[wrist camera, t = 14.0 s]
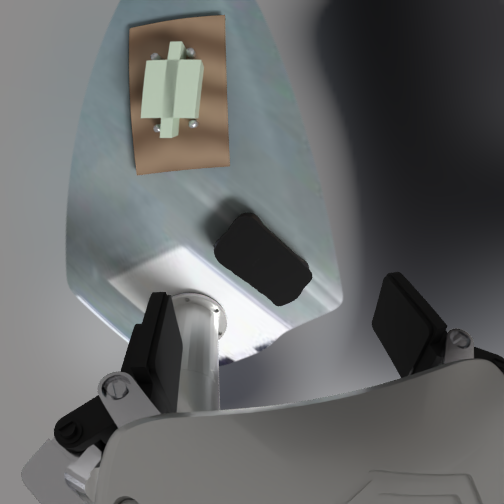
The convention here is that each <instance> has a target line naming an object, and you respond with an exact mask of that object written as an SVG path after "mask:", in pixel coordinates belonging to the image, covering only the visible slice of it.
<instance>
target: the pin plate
mask: <svg viewBox="0 0 504 504" xmlns="http://www.w3.org/2000/svg"><path fill="white" fill-rule="evenodd" d="M177 41H182V42H183V44H184V46H185V48H186V49H187V50H186V54H187V56H186V60H201V61H202V63H203V66H204V72H203V80H202V89H201V98H200V107H199V118H180V119H179V132H178V136H175V137H173V138H160V127H161V118H141V107H142V96H143V86H144V77H145V69H146V61H149V60H167V59H168V52H169V45H170V42H177ZM129 85H130V107H131V122H132V134H133V145H134V155H135V164H136V172H137V175H143V174H151V173H159V172H168V171H178V170H188V169H199V168H212V167H227V166H230V159H229V136H228V110H227V81H226V43H225V15H217V16H203V17H193V18H184V19H177V20H170V21H164V22H158V23H153V24H147V25H143V26H138V27H134V28H130V33H129Z"/></svg>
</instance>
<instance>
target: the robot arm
mask: <svg viewBox="0 0 504 504" xmlns="http://www.w3.org/2000/svg"><path fill="white" fill-rule="evenodd" d="M226 327H227V319H226V314H225V312H224V310H223V308H222V307H221V306H220V305H219V304H218V303H217V302H216V301H214V300H213V299H211V298H209V297H207V296H205V295H201V294H197V293H182V294H178V295H175V296H172V297H171V295H167V294H166V292H153V293H152V294H151V297H150V300H149V303H148V306H147V309H146V312H145V315H144V319H143V322H142V324H136V325H135V327H134V329H133V332H132V335H131V339H130V342H129V345H128V348H127V351H126V355H125V358H124V362H123V365H122V368H121V372H113V373H110V374H108V375H106V376H105V377H103V379H102V380H101V381H100V383H99V385H98V394H99V395H98V396H96V397H95V398H93V399H92V400H90V401H88V402H87V403H85V404H84V405H82V406H80V407H79V408H77V409H76V410H74V411H72V412H70V413H69V414H67V415H66V416H64V417H62V418H61V419H60V420H59V421H58V422H57V423H56V425H55V429H54V436H55V437H54V438H53V439H52V440H50V439H48V440H47V441H46V442H45V443H44V444H43V445H42V447H41V448H40V449H39V450H38V451H37V452H36V453H35V454H34V456H33V457H32V458H31V459H30V460H29V461H28V462H27V463H26V464H25V466H24V467H23V469H22V473H21V476H22V481H23V483H24V484H25V486H26V487H27V488H28V489H29V490H30V492H31V493H32V494H33V495H34V496H35V498H36V499H37V500H38V501H39V502H40V503H41V504H504V358H502V357H501V356H499V355H496V354H493V353H490V352H488V351H485V350H482V349H479V348H476V347H474V342H473V339H472V337H471V336H470V335H469V334H468V333H467V332H466V331H464V330H462V329H457V328H455V329H451V330H449V331H448V333H447V331H446V328H447V325H446V324H445V323H444V321H443V320H442V319H441V318H440V317H439V315H438V314H437V313H436V312H435V311H434V309H433V308H432V307H431V306H430V305H429V304H428V303H427V301H426V300H425V299H424V298H423V297H422V296H421V295H420V293H419V292H418V291H417V290H416V289H415V288H414V287H413V286H412V284H411V283H410V282H409V281H408V280H407V279H406V278H405V277H404V276H403V275H402V274H401V273H400V272H394V273H388V274H387V276H386V277H385V278H384V280H383V283H382V287H381V291H380V295H379V299H378V302H377V306H376V310H375V313H374V317H373V320H372V327H373V330H374V331H375V333H376V335H377V336H378V338H379V340H380V341H381V343H382V345H383V346H384V348H385V350H386V351H387V353H388V355H389V357H390V358H391V360H392V362H393V364H394V366H395V367H396V369H397V371H398V373H399V374H400V376H401V378H400V379H397V380H394V381H390V382H387V383H383V384H380V385H376V386H372V387H368V388H364V389H361V390H356V391H352V392H348V393H343V394H338V395H334V396H329V397H324V398H318V399H313V400H307V401H301V402H294V403H288V404H281V405H273V406H264V407H255V408H243V409H231V410H220V399H219V359H218V340H219V339H220V338H221V337H222V336H223V335H224V333H225V331H226Z"/></svg>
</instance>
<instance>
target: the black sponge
mask: <svg viewBox="0 0 504 504" xmlns="http://www.w3.org/2000/svg"><path fill="white" fill-rule="evenodd" d="M214 254H215V257H216V259H217V260H218V262H219V263H220V264H222V265H223V266H224V267H226V268H227V269H229V270H231V271H232V272H233V273H234V274H235V275H237V276H239V277H240V278H241V279H243V280H244V281H245V282H247V283H249V284H250V285H251V286H252V287H254V288H255V289H257V290H258V291H259V292H260V293H262V294H264V295H265V296H266V297H267V298H268V299H270V300H271V301H272V302H273V304H275V305H276V306H282V305H285V304H288V303H290V302H292V301H294V300H295V299H297V298H298V296H299V295H300V294H301V292H302V290H303V289H304V288H305V286H306V285H307V284H308V283H309V282H310V281H311V280H312V273H311V271H310V270H309V265H308V263H307V262H305V261H303V260H302V259H300V258H299V257H298V256H297V255H296V254H295V253H294V252H293V251H291V250H290V249H289V248H288V247H287V246H286V245H285V244H284V243H282V242H281V241H280V240H279V239H278V238H277V237H276V236H275V235H274V234H273V233H271V232H270V231H269V230H268V229H267V228H265V226H264V225H263V224H262V222H261V221H260V219H259V218H258V216H256V215H255V214H252V213H243V214H241V215H240V216H239V217H238V218H237V219H236V220H235V221H234V222H233V223H232V225H231V226H230V228H229V229H228V231H227V232H226V233H225V234H224V235H223V236H222V237H221V238H220V239H218V240H217V242H216V244H215V246H214Z"/></svg>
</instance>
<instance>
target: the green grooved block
mask: <svg viewBox="0 0 504 504" xmlns="http://www.w3.org/2000/svg"><path fill="white" fill-rule="evenodd" d="M186 50H187V49H186V48H185V46H184V44H183V42H182V41H177V42H170V45H169V52H168V59H167V60H149V61H146V69H145V77H144V86H143V96H142V107H141V118H161V127H160V138H173V137H175V136H178V132H179V119H180V118H199V107H200V98H201V89H202V80H203V72H204V66H203V63H202V61H201V60H186V56H187V54H186Z"/></svg>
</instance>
